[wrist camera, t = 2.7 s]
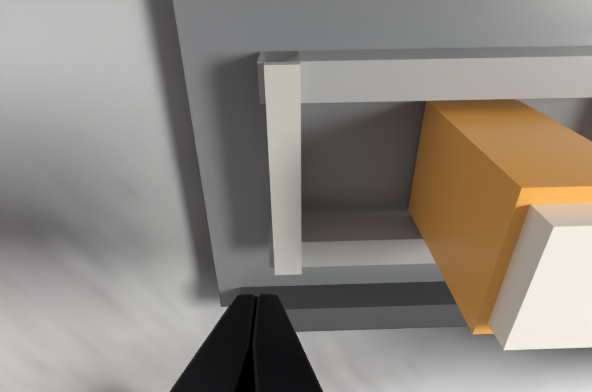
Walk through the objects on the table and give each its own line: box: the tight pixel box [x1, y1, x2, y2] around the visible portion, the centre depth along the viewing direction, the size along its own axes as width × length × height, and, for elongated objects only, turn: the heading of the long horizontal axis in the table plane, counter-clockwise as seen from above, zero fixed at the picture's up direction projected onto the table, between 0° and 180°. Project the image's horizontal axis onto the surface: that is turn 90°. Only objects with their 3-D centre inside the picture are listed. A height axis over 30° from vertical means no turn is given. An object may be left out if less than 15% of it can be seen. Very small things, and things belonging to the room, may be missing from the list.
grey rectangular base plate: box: [240, 281, 468, 332], centre depth 14 cm, size 17×15×1 cm
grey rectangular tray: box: [173, 0, 592, 307], centre depth 14 cm, size 19×15×3 cm
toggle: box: [408, 99, 592, 350], centre depth 11 cm, size 3×4×7 cm
